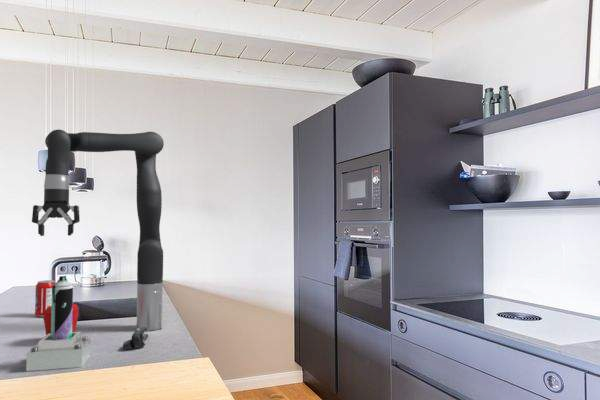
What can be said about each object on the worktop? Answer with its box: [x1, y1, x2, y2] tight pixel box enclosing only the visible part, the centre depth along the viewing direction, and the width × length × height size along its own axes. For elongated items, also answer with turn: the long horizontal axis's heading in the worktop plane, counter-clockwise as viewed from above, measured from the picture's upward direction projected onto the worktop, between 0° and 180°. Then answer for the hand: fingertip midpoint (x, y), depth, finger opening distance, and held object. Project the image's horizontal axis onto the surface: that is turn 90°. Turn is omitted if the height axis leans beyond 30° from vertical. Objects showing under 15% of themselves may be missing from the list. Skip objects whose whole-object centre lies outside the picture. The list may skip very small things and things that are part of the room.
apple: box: [42, 302, 80, 336], centre depth 153 cm, size 11×10×14 cm
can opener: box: [122, 327, 149, 350], centre depth 150 cm, size 18×7×6 cm, turn 5°
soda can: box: [34, 279, 56, 318], centre depth 192 cm, size 8×8×15 cm
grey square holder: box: [25, 331, 92, 372], centre depth 130 cm, size 14×12×8 cm
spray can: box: [51, 275, 74, 340], centre depth 130 cm, size 6×6×20 cm
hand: (55, 235), depth 152 cm, fingers open, 8 cm apart
